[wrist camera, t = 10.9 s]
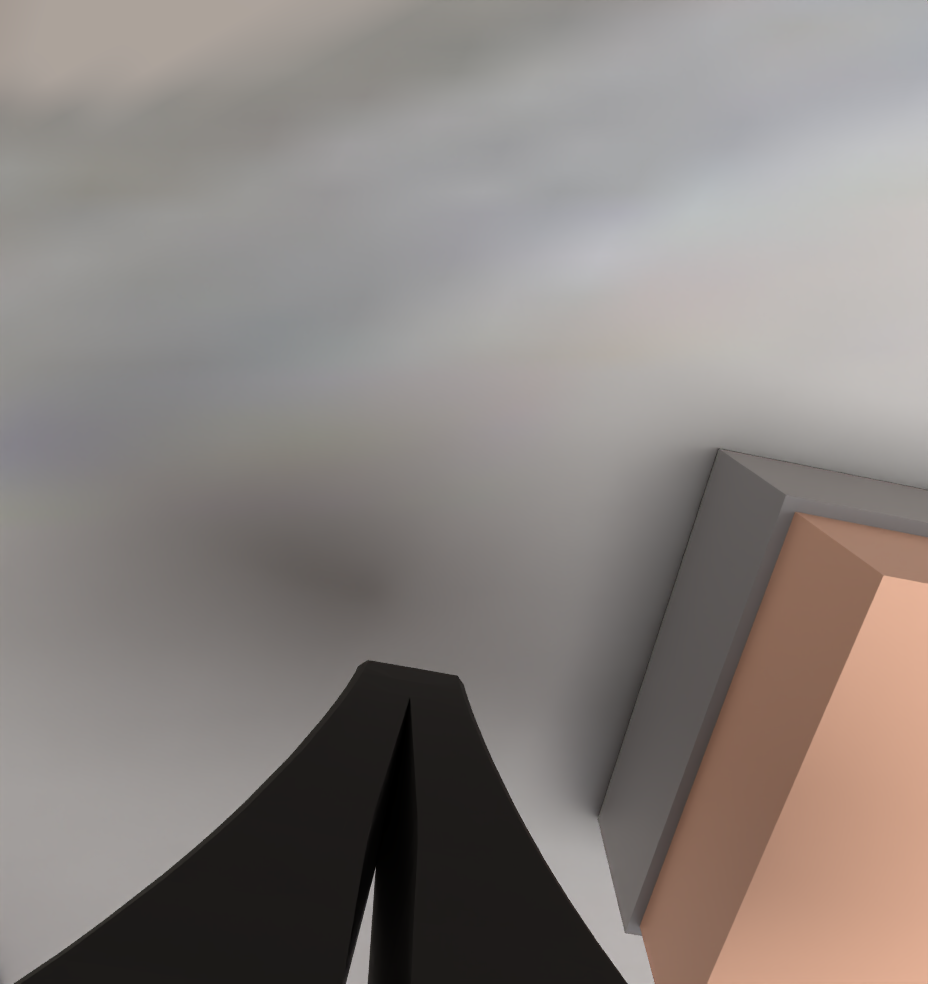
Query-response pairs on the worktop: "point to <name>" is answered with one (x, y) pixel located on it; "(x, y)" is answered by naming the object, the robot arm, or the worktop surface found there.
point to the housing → (717, 643)
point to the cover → (812, 781)
